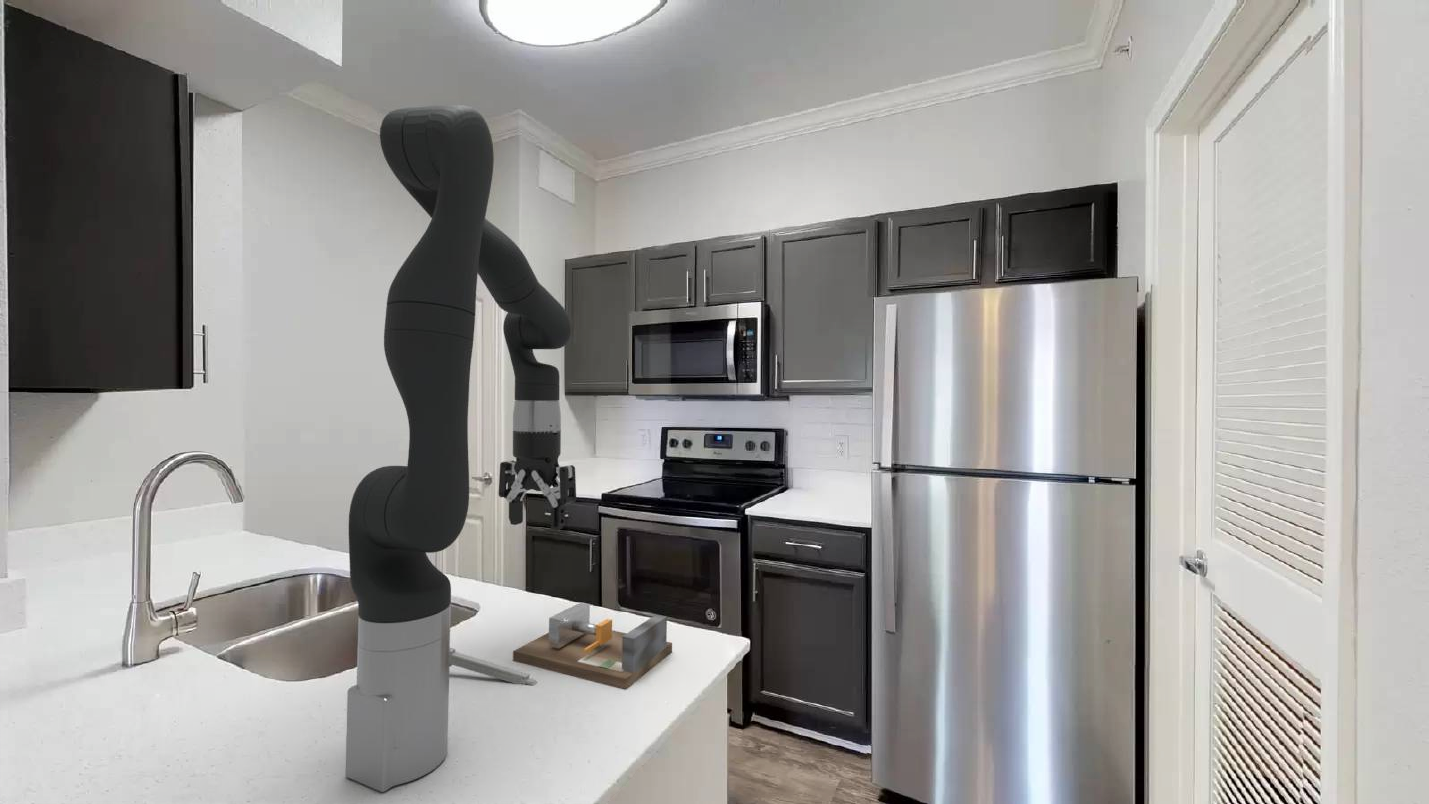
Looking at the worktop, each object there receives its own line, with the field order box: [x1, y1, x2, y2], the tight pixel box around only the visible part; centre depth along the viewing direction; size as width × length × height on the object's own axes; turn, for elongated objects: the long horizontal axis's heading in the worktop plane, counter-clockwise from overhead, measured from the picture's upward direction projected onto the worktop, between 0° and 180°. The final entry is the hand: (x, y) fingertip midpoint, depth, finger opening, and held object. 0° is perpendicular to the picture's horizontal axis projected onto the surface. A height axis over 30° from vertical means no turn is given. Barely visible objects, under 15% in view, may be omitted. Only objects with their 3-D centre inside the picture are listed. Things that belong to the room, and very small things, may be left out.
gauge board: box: [512, 614, 673, 690], centre depth 92 cm, size 14×21×6 cm, turn 66°
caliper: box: [449, 647, 538, 686], centre depth 85 cm, size 20×1×6 cm, turn 81°
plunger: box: [548, 602, 597, 648], centre depth 94 cm, size 8×7×4 cm
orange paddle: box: [584, 618, 613, 654], centre depth 90 cm, size 6×1×3 cm, turn 156°
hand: (536, 526), depth 94 cm, fingers open, 8 cm apart
